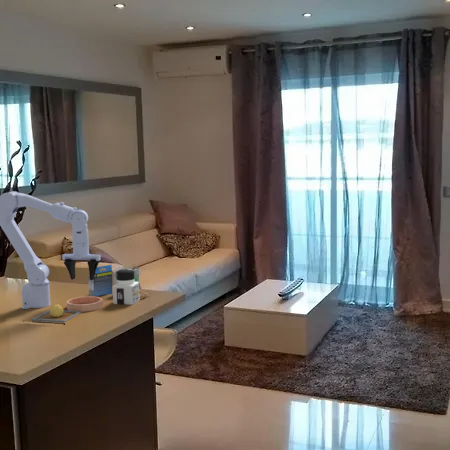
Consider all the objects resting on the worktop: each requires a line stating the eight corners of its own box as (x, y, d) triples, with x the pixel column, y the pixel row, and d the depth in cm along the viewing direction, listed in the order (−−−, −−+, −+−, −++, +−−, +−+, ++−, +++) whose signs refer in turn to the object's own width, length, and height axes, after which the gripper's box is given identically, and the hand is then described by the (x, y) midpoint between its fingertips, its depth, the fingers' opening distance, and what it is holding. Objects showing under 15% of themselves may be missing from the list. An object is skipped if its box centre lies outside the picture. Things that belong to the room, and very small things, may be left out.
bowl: (60, 313, 217) (60, 304, 217) (77, 304, 229) (76, 295, 229) (93, 314, 214) (93, 305, 214) (108, 305, 226) (108, 297, 226)
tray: (32, 322, 206) (32, 318, 205) (50, 313, 217) (50, 309, 217) (64, 324, 203) (64, 320, 203) (81, 314, 214) (81, 311, 214)
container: (132, 306, 224) (131, 271, 222) (113, 306, 225) (111, 271, 224) (139, 301, 231) (138, 267, 230) (120, 300, 233) (119, 267, 231)
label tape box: (107, 293, 246) (106, 263, 245) (113, 294, 243) (112, 264, 242) (88, 297, 240) (87, 266, 238) (94, 298, 237) (93, 267, 236)
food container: (127, 298, 237) (126, 272, 236) (115, 296, 240) (114, 271, 239) (147, 291, 247) (146, 267, 246) (136, 290, 251) (135, 266, 249)
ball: (48, 318, 208) (46, 306, 208) (55, 315, 213) (53, 302, 212) (59, 318, 207) (58, 306, 207) (66, 315, 211) (65, 302, 211)
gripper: (57, 244, 222) (59, 280, 224) (94, 245, 219) (95, 282, 220) (66, 241, 229) (68, 277, 231) (102, 242, 225) (104, 278, 227)
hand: (82, 279), depth 226 cm, fingers open, 7 cm apart
